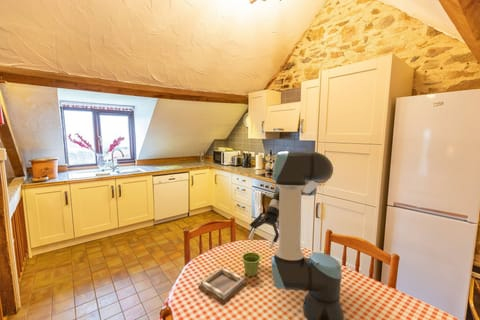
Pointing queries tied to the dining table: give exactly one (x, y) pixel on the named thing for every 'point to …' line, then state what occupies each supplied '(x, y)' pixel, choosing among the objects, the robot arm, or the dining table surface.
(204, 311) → the dining table surface
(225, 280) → the stand
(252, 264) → the plant pot
